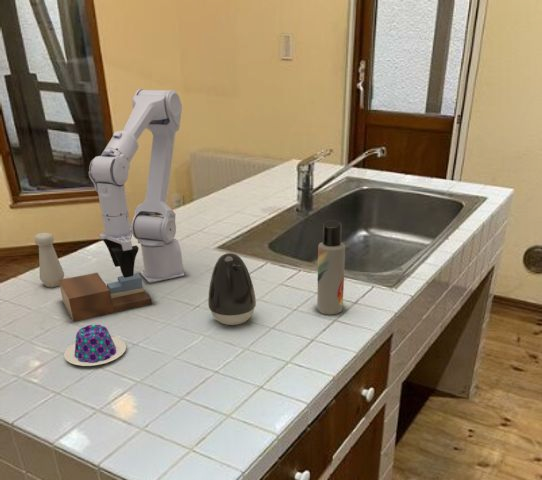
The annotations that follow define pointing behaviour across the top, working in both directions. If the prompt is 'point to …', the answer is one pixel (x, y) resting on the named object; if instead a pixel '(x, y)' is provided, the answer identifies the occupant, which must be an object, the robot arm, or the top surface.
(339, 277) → the lotion bottle
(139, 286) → the blue stepped block
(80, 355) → the patterned hat
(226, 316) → the dark egg shaped container
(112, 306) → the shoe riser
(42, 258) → the salt shaker
